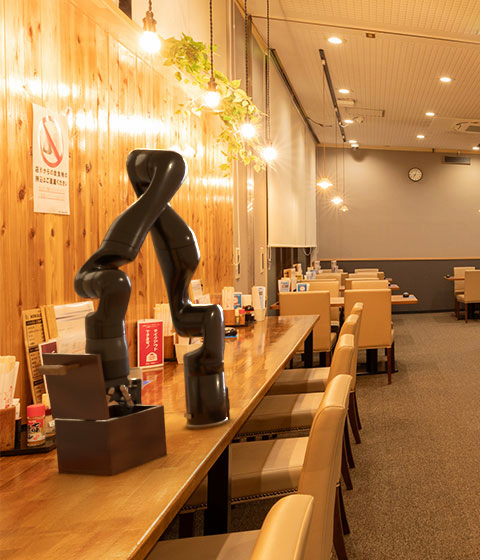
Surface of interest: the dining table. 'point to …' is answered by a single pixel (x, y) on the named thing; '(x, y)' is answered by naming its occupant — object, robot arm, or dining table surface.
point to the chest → (111, 441)
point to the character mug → (136, 376)
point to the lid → (75, 386)
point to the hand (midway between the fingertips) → (112, 429)
